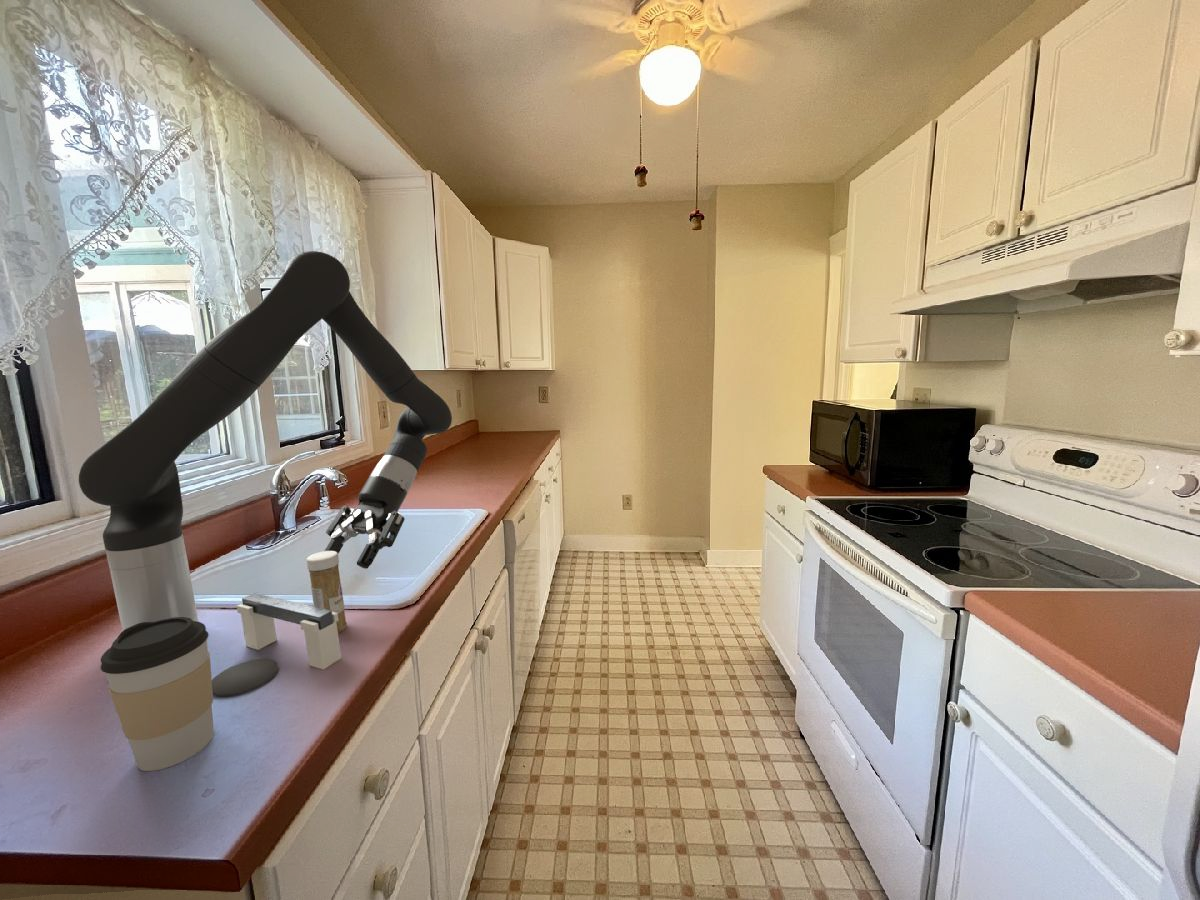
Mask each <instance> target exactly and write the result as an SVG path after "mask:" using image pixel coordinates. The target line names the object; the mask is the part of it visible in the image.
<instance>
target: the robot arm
mask: <svg viewBox="0 0 1200 900" xmlns="http://www.w3.org/2000/svg"><path fill="white" fill-rule="evenodd" d="M350 289H351V281H350V275H349V273H348V271H347V268H346V267H345V266H344V265H343V263H342V262H341V261H340V260H339V259H337V258H336V257H334V256H333V255H330V254H329V253H326V252H322V251H316V250H308V251H302V252H300V253H297V254H295V255H293V256H292V257H291V258H290V259H289V260H288V262H287V263H286V265H285V269H284V273H283V275H282V276H281V277H280V279H279V280H278V281H277V282H276V283H275V285H274V286H273V287H272V289H270V291H269V292H268V293H267V294H266V295H265V297H264V298H263V299H262V300H261V301H260V303H258V304H257V305H256V306H255V307H254V308H252V309H251V310H250V311H249V312H247V313H246V314H244V315H243V316H241V317H240V318H238V319H237V320H235V321H234V322H233V323H231V324H230V325H228V326H227V327H225V328H224V329H222V330H221V332H219V333H218V334H216V335H215V337H213V338H212V339H210V341H208V342H207V343H206V344H205V345H204V346H203V347H202V348H201V349H200V350H199V351H198V352H197V353H196V354H195V355H194V356H193V357H192V358H191V359H190V360H189V361H188V362H187V363H186V364H185V366H184V367H182V369H181V370H180V371H179V372H178V373H177V374H176V375H175V377H173V378H172V379H171V380H170V381H169V382H168V384H167V385H165V387H164V388H162V390H161V391H160V392H159V394H158V395H157V396H156V397H155V398H154V399H153V401H151V403H150V404H149V405H148V406H147V408H145V410H143V412H142V413H140V415H139V416H137V418H135V419H134V420H133V421H132V422H130V423H129V424H128V425H127V426H126V427H125V428H123V429H122V430H121V431H120V432H118V433H117V434H115V435H114V436H113V437H112V438H111V439H109V440H108V441H107V442H106V443H104V444H103V445H102V446H100V447H99V448H98V449H97V450H95V451H94V452H93V453H91V454H90V455H89V456H88V457H87V458H86V459H85V461H83V463H82V465H81V467H80V470H79V474H78V484H79V487H80V490H81V492H82V494H83V495H84V496H85V497H86V498H87V499H89V500H90V501H92V502H93V503H96V504H98V505H102V506H106V507H107V506H108V507H109V508H110V515H109V519H108V522H107V525H106V526H105V528H104V530H103V533H102V541H103V545H104V549H105V554H106V559H107V563H108V567H109V572H110V577H111V582H112V587H113V592H114V596H115V600H116V605H117V607H116V608H117V610H118V616H119V620H120V625H121V630H122V631H124V630H125V629H127V628H129V627H131V626H133V625H136V624H138V623H142V622H155V621H159V620H163V619H168V618H175V617H187V618H190V619H192V620H193V621H197V622H199V617H198V611H197V605H196V600H195V594H194V589H193V588H194V587H193V584H192V578H191V573H190V572H191V571H190V565H189V561H188V557H187V551H186V546H185V541H184V535H183V530H182V521H183V517H184V506H183V498H182V491H181V483H180V482H181V481H180V476H179V472H178V468H177V467H178V466H177V465H176V462H175V461H176V460H177V459H178V458H179V457H180V455H181V454H182V453H183V452H184V451H185V450H186V449H187V448H188V447H189V446H190V445H191V444H192V443H193V442H194V441H196V440H197V439H198V438H200V437H201V436H203V434H205V433H206V432H208V431H209V430H211V428H214V427H215V426H216V425H217V424H219V423H221V421H223V420H225V419H226V418H227V417H228V416H230V415H231V414H232V413H233V412H235V411H236V410H237V409H238V408H239V407H241V406H242V405H243V404H244V403H245V402H246V401H248V400H249V398H250V397H251V396H252V395H253V394H254V393H255V392H256V391H257V390H258V389H259V388H260V387H261V386H262V385H263V384H264V382H265V381H266V380H267V379H268V378H269V376H270V375H271V374H272V373H273V372H274V371H275V370H276V369H277V367H278V366H279V365H281V363H282V361H283V360H284V359H285V358H286V356H287V355H288V354H289V352H290V351H291V350H292V349H293V348H294V346H295V345H296V343H297V342H298V341H299V340H300V339H301V338H302V337H303V336H304V335H305V334H306V333H307V332H308V331H309V330H311V329H312V328H313V327H314V326H315V325H316V324H317V323H318V322H320V321H321V320H323V321H324V322H325V323H326V325H328V326H329V328H331V329H332V331H333V332H334V333H335V334H336V335H337V336H338V337H339V339H340V340H341V341H342V342H343V343H344V345H345V346H346V347H347V348H348V350H349V351H350V352H351V354H352V355H353V356H354V357H355V359H356V360H357V362H358V363H359V364H360V365H361V367H362V369H364V371H365V372H366V373H367V374H368V376H369V377H370V378H371V380H372V381H373V382H374V383H375V385H377V387H378V388H379V389H380V391H381V392H382V393H383V394H384V395H385V397H386V398H388V400H389V401H391V402H392V403H395V404H400V405H404V406H406V407H405V408H404V409H403V410H402V412H401V414H400V415H399V418H398V421H397V424H396V427H395V430H394V433H393V439H392V441H391V443H390V444H389V445H388V447H387V449H386V451H385V452H384V454H383V456H382V457H381V459H380V460H379V461H378V462H377V464H376V465H375V466H374V468H373V470H372V471H371V472H370V475H369V476H368V478H367V479H366V481H365V483H364V485H363V486H362V489H361V490H360V492H359V493H358V495H357V499H358V504H357V505H356V507H354V508H350V507H349V506H348V505H343V506H341V508H340V510H339V511H338V512H337V514H336V516H335V517H334V519H333V520H332V521H331V523H330V525H329V526H328V527H327V529H326V531H325V533H326V535H327V536H329V537H330V541H328V542H329V543H328V544H327V546H326V548H325V549H324V551H335V552H337V553H338V555H339V553H340V552H341V550H342V548H343V546H344V544H345V543H346V542H347V541H349V540H350V539H351V538H355V537H357V536H358V535H368V543H366V544H365V547H364V548H363V550H362V552H361V553H360V556H359V558H358V559H357V561H356V565H357V566H359V567H360V568H362V569H366V570H367V569H369V568H370V566H371V565H372V564H373V562H374V561H375V558H376V557H377V555H378V553H379V552H380V550H382V549H383V548H385V547H388V548H391V547H393V545H394V544H395V541H396V539H397V536H398V535H399V533H400V530H401V528H402V526H403V523H404V522H405V517H404V516H403V515H402V514H400V512H399V510H400V508H401V506H402V505H403V502H405V498H406V497H407V496H408V493H409V491H410V489H411V488H412V486H413V484H414V482H415V480H416V479H415V478H416V476H417V474H418V472H419V470H420V468H421V467H422V464H423V463H424V460H426V457H427V455H428V447H427V445H426V443H425V442H424V441H423V439H424V438H425V437H426V436H428V435H437V434H442V433H445V432H446V431H448V430H449V429H450V427H451V425H452V422H453V418H452V417H453V416H452V412H451V409H450V406H448V404H447V402H446V401H445V400H444V399H443V398H442V397H441V396H440V395H439V394H437V393H436V392H435V391H434V390H433V389H432V388H430V387H429V386H428V385H427V384H425V383H424V382H423V381H422V380H420V379H419V377H417V375H416V374H415V373H414V371H413V370H412V368H411V367H410V366H409V364H408V363H407V362H406V360H405V359H404V358H403V357H402V355H401V354H400V353H399V352H398V351H397V349H395V347H394V346H393V345H392V344H391V343H390V341H388V340H387V339H386V337H385V336H383V334H382V333H381V332H380V331H379V330H378V329H377V328H376V327H375V325H374V324H373V323H372V322H371V321H370V320H369V318H368V317H367V316H366V314H365V313H364V312H363V310H362V308H360V306H359V305H358V303H357V302H356V300H355V298H354V297H353V295H352V293H351V291H350ZM338 526H339V527H338ZM350 526H351V527H350ZM337 527H338V528H337ZM336 528H337V529H336ZM343 534H344V535H343ZM122 631H121V632H122Z"/></svg>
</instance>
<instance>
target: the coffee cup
mask: <svg viewBox="0 0 1200 900" xmlns="http://www.w3.org/2000/svg"><path fill="white" fill-rule="evenodd" d="M206 628H207V627H206V625H205V624H204V623H202V622H200V621H198V622H197V621H193V620H192V619H190V618H187V617H175V618H168V619H163V620H159V621H155V622H142V623H138V624H136V625H133V626H131V627H129V628H127V629H125V630H124V631H121V632H120V633H119V635H118V636H117V637H116V639H114V641H113V642H112V644H111V647H109V648H108V649H107V650H105V652H104V653H103V654H102V655H101V657H100V663H101V664H100V667H99V668H100V670H101V671H102V672H103V673H105V676H106V679H107V682H108V690H109V691H108V692H109V694H110V696H111V700H112V702H113V706H114V708H115V711H116V714H117V716H118V717H117V718H118V719H119V722H120V725H121V728H122V731H123V734H124V737H125V738H126V739H127V740H128V743H129V746H130V749H131V752H132V754H133V758H134V760H135V764H136V767H137V768H138V769H139V770H140V771H144V772H155V771H160V770H161V771H162V770H164V769H167V768H168V769H169V768H171V767H173V766H175V765H178V764H181V763H182V762H184V761H186V760H188V759H190V758H191V757H193V756H195V755H196V754H198V753H199V752H200V751H202V750H203V749H204V748H205V747H206V746H207V745H209V743H210V742H211V741H212V740H213V738H214V736H215V735H214V734H215V728H214V714H213V703H214V696H213V691H212V679H213V678H212V667H211V654H210V652H209V651H208V638H209V636H210V635H209V632H208V631H207V630H206Z"/></svg>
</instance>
